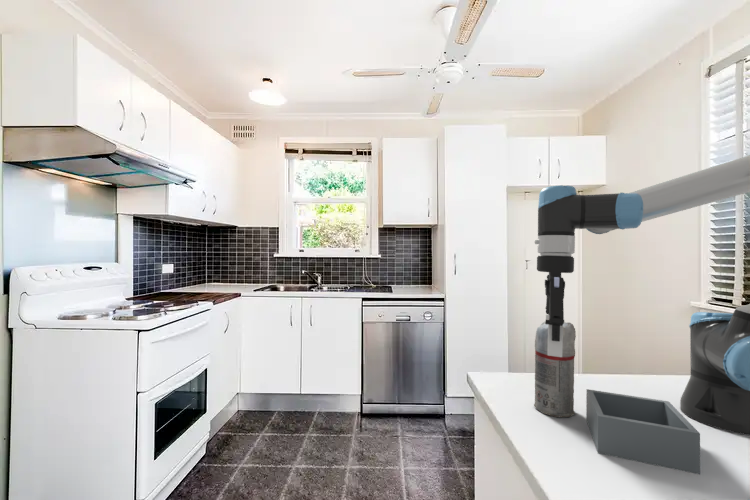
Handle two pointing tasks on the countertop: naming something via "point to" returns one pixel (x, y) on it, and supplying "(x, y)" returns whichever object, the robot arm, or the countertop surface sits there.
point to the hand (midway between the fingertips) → (552, 348)
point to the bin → (642, 430)
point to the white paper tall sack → (555, 374)
